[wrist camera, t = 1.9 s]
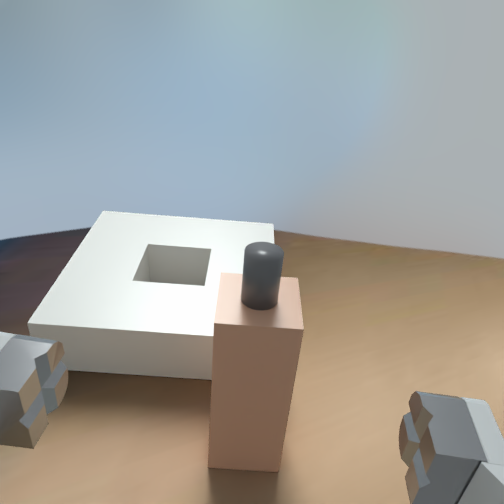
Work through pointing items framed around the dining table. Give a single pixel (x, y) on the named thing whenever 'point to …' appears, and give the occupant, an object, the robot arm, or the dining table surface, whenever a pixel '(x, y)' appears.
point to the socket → (144, 294)
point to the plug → (254, 362)
